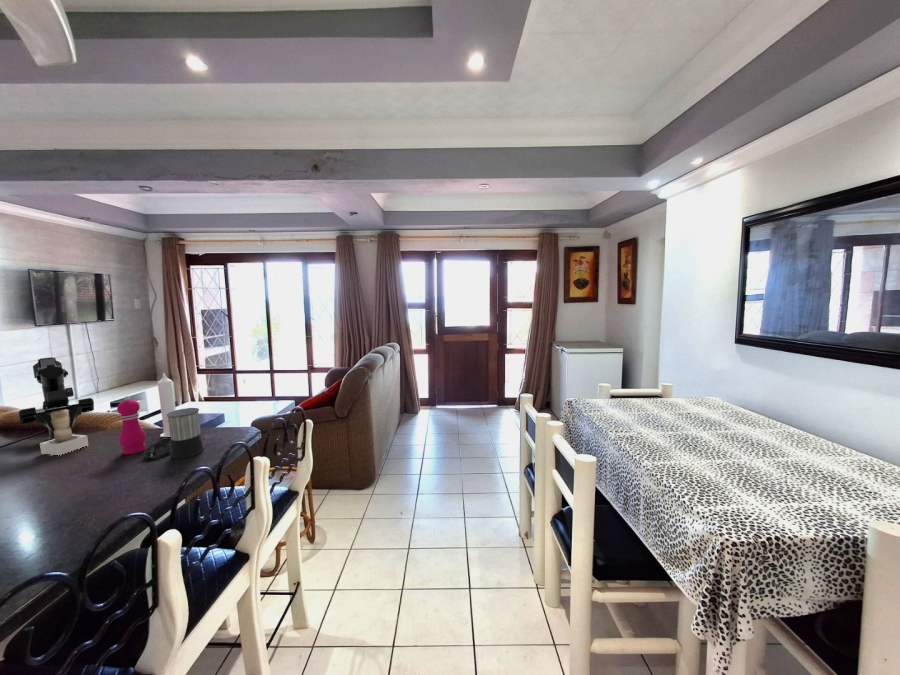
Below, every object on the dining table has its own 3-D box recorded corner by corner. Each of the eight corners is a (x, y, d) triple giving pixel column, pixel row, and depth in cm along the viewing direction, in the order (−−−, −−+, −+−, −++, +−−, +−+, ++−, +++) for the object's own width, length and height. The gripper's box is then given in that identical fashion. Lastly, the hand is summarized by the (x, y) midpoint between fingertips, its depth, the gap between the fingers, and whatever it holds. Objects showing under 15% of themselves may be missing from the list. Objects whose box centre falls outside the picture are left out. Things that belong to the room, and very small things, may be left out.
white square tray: (41, 454, 132) (39, 443, 131) (72, 444, 140) (70, 434, 140) (58, 456, 129) (56, 445, 129) (88, 445, 138) (87, 435, 137)
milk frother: (207, 452, 128) (202, 410, 126) (149, 469, 117) (143, 423, 115) (196, 442, 138) (191, 403, 136) (142, 456, 126) (136, 414, 125)
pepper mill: (153, 447, 134) (145, 393, 132) (134, 455, 127) (126, 399, 125) (135, 446, 135) (127, 393, 133) (115, 455, 128) (107, 399, 126)
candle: (186, 432, 148) (179, 371, 145) (168, 439, 142) (160, 375, 139) (174, 431, 151) (166, 370, 148) (155, 437, 144) (147, 374, 141)
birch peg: (53, 447, 133) (48, 412, 132) (70, 442, 137) (64, 408, 136) (59, 449, 132) (53, 413, 130) (75, 444, 136) (70, 410, 134)
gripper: (14, 387, 127) (20, 424, 121) (89, 376, 141) (98, 410, 136) (17, 405, 133) (23, 442, 127) (89, 393, 147) (97, 426, 142)
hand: (62, 429), depth 133 cm, fingers closed on birch peg, 4 cm apart
